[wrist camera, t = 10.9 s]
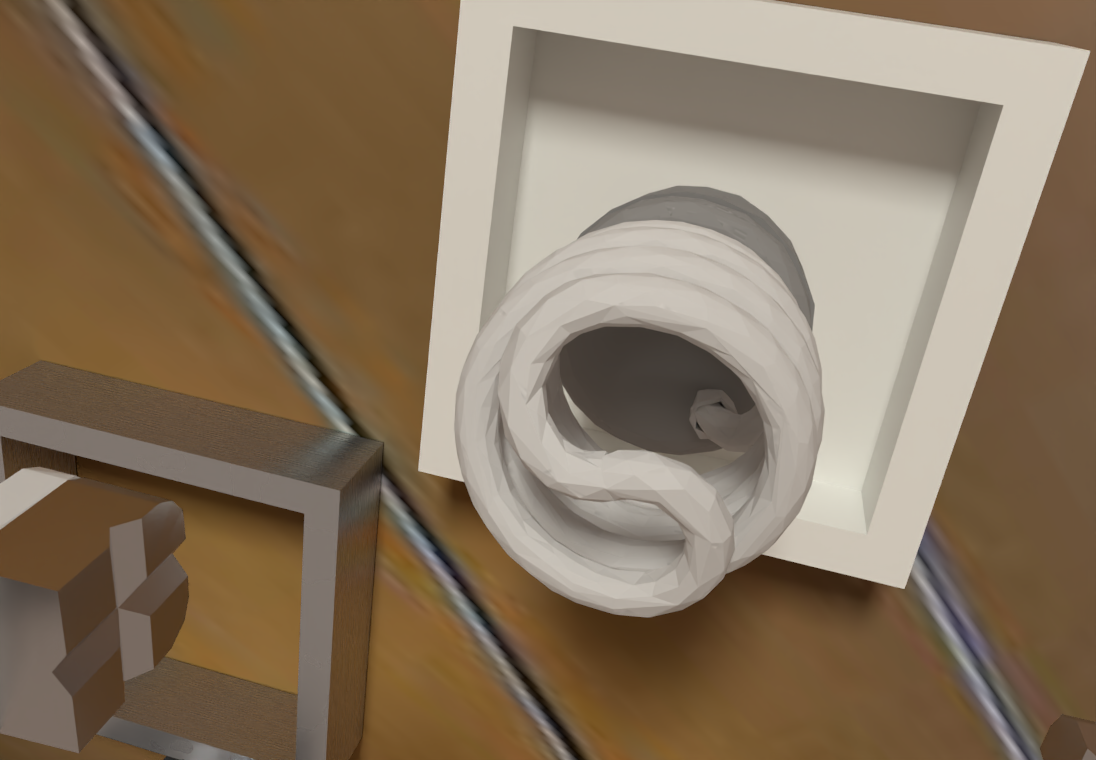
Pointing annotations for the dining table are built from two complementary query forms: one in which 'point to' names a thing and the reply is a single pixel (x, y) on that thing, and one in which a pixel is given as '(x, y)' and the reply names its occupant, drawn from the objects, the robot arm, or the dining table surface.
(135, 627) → the robot arm
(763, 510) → the light bulb
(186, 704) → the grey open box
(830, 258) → the tray
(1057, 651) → the dining table surface
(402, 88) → the dining table surface
